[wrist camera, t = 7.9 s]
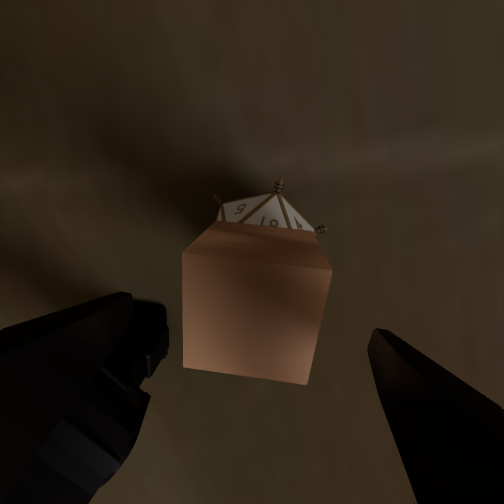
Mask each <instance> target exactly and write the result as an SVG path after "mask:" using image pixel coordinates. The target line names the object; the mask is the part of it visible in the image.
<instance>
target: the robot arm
mask: <svg viewBox="0 0 504 504" xmlns="http://www.w3.org/2000/svg"><path fill="white" fill-rule="evenodd" d="M160 310H161V311H162V312H161V311H160ZM168 348H169V328H168V326H167V315H166V308H165V307H164V306H162V305H155V304H148V303H141V302H134V301H133V300H132V295H131V294H130V293H127V292H117V293H113V294H110V295H107V296H104V297H101V298H98V299H95V300H91V301H88V302H85V303H82V304H79V305H76V306H73V307H69V308H66V309H63V310H60V311H57V312H54V313H51V314H47V315H44V316H41V317H38V318H35V319H32V320H28V321H25V322H22V323H19V324H16V325H13V326H10V327H6V328H3V329H2V330H0V504H88V503H89V502H90V500H91V499H92V497H93V496H94V494H95V493H96V492H97V490H98V489H99V488H100V487H101V486H103V485H104V484H105V483H106V482H107V481H109V480H110V479H111V477H112V476H113V475H114V474H115V473H116V472H117V471H118V469H119V468H120V467H121V465H122V464H123V463H124V461H125V460H126V458H127V457H128V455H129V453H130V452H131V450H132V448H133V446H134V444H135V442H136V440H137V437H138V434H139V431H140V428H141V425H142V422H143V419H144V416H145V413H146V410H147V407H148V404H149V401H150V398H151V396H150V395H149V394H148V393H147V392H144V391H143V390H141V389H140V388H139V387H140V385H141V383H142V382H143V380H144V379H145V378H150V377H151V376H152V375H153V373H154V371H155V370H156V368H157V366H158V364H159V363H160V361H161V359H164V358H166V356H167V353H168V352H167V349H168ZM368 356H369V360H370V364H371V368H372V372H373V376H374V380H375V384H376V388H377V392H378V395H379V398H380V401H381V404H382V407H383V409H384V412H385V415H386V418H387V420H388V423H389V426H390V429H391V431H392V434H393V437H394V440H395V442H396V445H397V448H398V451H399V453H400V456H401V459H402V462H403V464H404V467H405V470H406V473H407V475H408V478H409V481H410V484H411V486H412V489H413V492H414V495H415V498H416V500H417V503H418V504H504V409H503V410H502V407H501V406H499V405H498V404H496V403H495V402H493V401H492V400H490V399H489V398H487V397H486V396H484V395H483V394H481V393H480V392H478V391H477V390H476V389H474V388H473V387H471V386H470V385H468V384H467V383H465V382H464V381H462V380H461V379H459V378H458V377H456V376H455V375H453V374H452V373H450V372H449V371H448V370H446V369H445V368H443V367H442V366H440V365H439V364H437V363H436V362H434V361H433V360H431V359H430V358H428V357H427V356H425V355H424V354H422V353H421V352H420V351H418V350H417V349H415V348H414V347H412V346H411V345H409V344H408V343H406V342H405V341H403V340H402V339H400V338H399V337H397V336H396V335H394V334H393V333H392V332H390V331H389V330H386V329H379V328H376V329H374V330H373V333H372V336H371V339H370V342H369V345H368Z"/></svg>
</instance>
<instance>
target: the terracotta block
mask: <svg viewBox="0 0 504 504" xmlns="http://www.w3.org/2000/svg"><path fill="white" fill-rule="evenodd" d="M332 272H333V270H332V268H331V266H330V264H329V262H328V261H327V259H326V257H325V255H324V253H323V251H322V249H321V248H320V246H319V244H318V242H317V240H316V238H315V237H314V235H313V233H312V231H309V230H300V229H291V228H282V227H273V226H264V225H255V224H246V223H237V222H227V221H218V220H216V221H215V222H214V223H213V224H212V225H211V226H210V227H209V228H208V229H207V230H205V231H204V232H203V233H202V234H201V235H200V236H199V237H198V238H197V239H196V240H195V241H194V242H193V243H192V244H190V245H189V246H188V247H187V248H186V249H185V250H184V251H183V252H182V296H183V367H186V368H193V369H200V370H207V371H214V372H221V373H228V374H234V375H241V376H248V377H255V378H262V379H269V380H276V381H282V382H289V383H296V384H303V385H307V382H308V377H309V373H310V369H311V364H312V360H313V355H314V351H315V347H316V342H317V338H318V333H319V329H320V325H321V320H322V316H323V311H324V307H325V302H326V298H327V294H328V289H329V285H330V280H331V276H332Z"/></svg>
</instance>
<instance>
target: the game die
mask: <svg viewBox="0 0 504 504" xmlns="http://www.w3.org/2000/svg"><path fill="white" fill-rule="evenodd" d="M275 184H276V185H275V186H274V187H275V191H273V192H269V193H264V194H260V195H255V196H251V197H246V198H242V199H237V200H233V201H228V202H223V201H222V198H220V196H217V195H213V196H214V201H216V203H217V204H219V205H220V208H219V211H218V215H217V218H216V220H218V221H227V222H237V223H246V224H255V225H264V226H273V227H282V228H291V229H300V230H309V231H312V233H313V235H314V237H316V234H317V233H322V232H323V233H324V232H325V231H326V229H327V228H328V227H325V226H322V225H321V226H320V227H319V226H318V228H314V227H313V226H312V225H311V224H310V223H309V222H308V221H307V220H306V219H305V218H304V217H303V216H302V215H301V214H300V213H299V212H298V211H297V210H296V209H295V208H294V207H293V206H292V205H291V204H290V203H289V202H288V201H287V200H286V199H285V198H284V197H283V196H282V195H281V194H280V191H281V190H283V186H284V184H283V181H282V178H280V179H279V180H278V181H277V182H275Z"/></svg>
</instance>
